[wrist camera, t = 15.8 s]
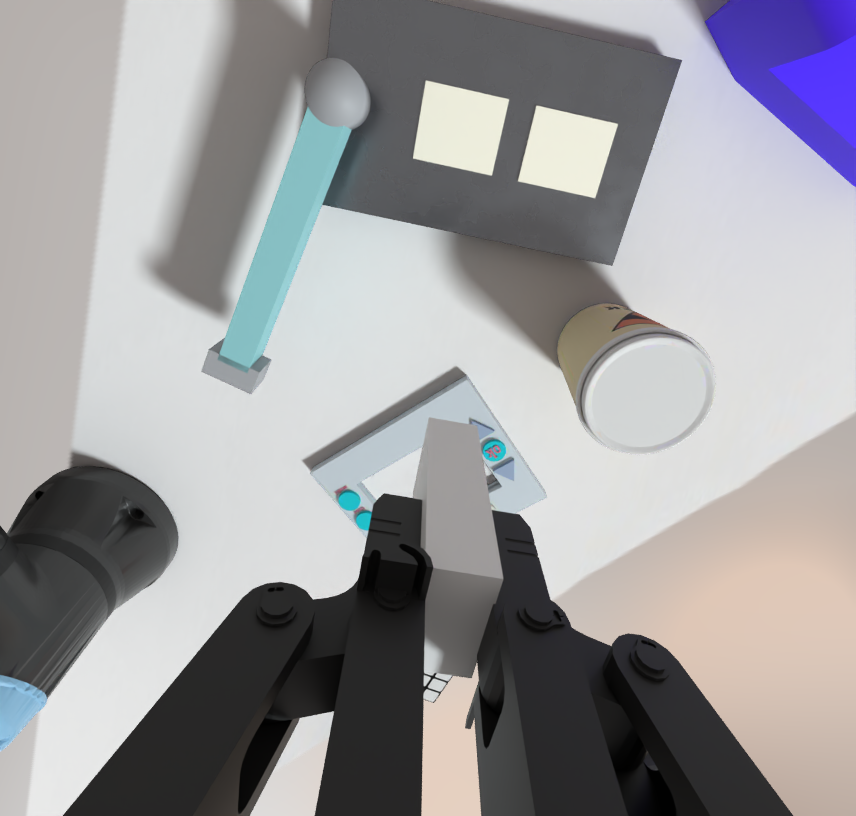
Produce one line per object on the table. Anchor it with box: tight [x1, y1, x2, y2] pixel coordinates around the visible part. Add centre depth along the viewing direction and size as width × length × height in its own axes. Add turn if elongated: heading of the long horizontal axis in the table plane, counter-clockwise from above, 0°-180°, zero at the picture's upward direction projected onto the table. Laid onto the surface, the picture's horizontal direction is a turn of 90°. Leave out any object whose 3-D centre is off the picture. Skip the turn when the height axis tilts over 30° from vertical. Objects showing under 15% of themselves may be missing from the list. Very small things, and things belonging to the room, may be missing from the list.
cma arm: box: [201, 58, 371, 394], centre depth 36 cm, size 23×4×3 cm, turn 153°
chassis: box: [322, 0, 682, 266], centre depth 37 cm, size 24×14×4 cm, turn 79°
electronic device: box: [310, 375, 547, 538], centre depth 51 cm, size 18×2×15 cm
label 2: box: [518, 106, 618, 198], centre depth 38 cm, size 6×5×1 cm
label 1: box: [413, 81, 509, 176], centre depth 37 cm, size 6×5×1 cm
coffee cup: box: [557, 303, 716, 455], centre depth 40 cm, size 9×9×12 cm
